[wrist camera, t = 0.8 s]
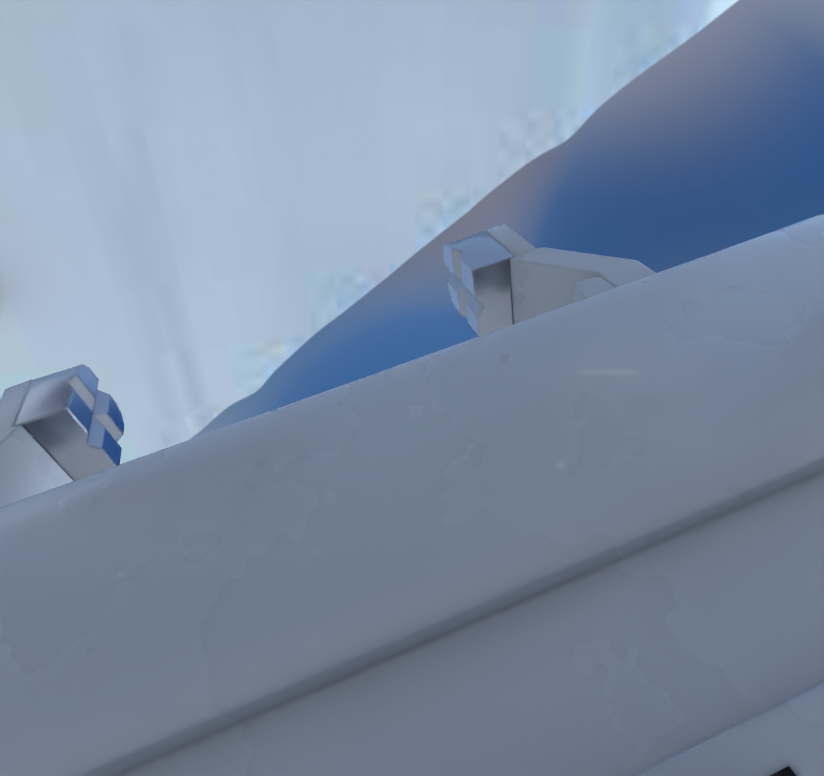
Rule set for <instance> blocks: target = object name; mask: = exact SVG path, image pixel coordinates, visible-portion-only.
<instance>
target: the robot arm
mask: <svg viewBox="0 0 824 776" xmlns="http://www.w3.org/2000/svg"><path fill="white" fill-rule="evenodd" d="M443 255H444V261H445V264H446V266H447V267H448V268H449V269H450V270H451V274H450V276H449V278H448V280H447V281H448V287H449V292H450V295H451V298H452V301H453V304H454V306H455V308H456V310H457V311H458V313H459V314H460V315H461V316H462V317H466V318H468V325H469V327H470V328H471V329H472V331H473V332H474V333H475V334H476V335H477V338H474V339H471V340H468V341H465V342H463V343H460V344H457V345H454V346H452V347H449V348H446V349H443V350H440V351H437V352H435V353H432V354H429V355H426V356H423V357H421V358H418V359H415V360H412V361H409V362H407V363H404V364H401V365H398V366H396V367H393V368H390V369H387V370H385V371H382V372H379V373H376V374H373V375H370V376H368V377H365V378H362V379H360V380H357V381H354V382H351V383H348V384H345V385H342V386H339V387H337V388H334V389H332V390H328V391H325V392H323V393H320V394H317V395H314V396H311V397H309V398H306V399H303V400H300V401H297V402H294V403H292V404H289V405H286V406H283V407H280V408H278V409H275V410H272V411H269V412H267V413H264V414H261V415H258V416H255V417H253V418H250V419H247V420H244V421H241V422H238V423H235V424H233V425H230V426H227V427H224V428H221V429H219V430H216V431H213V432H210V433H207V434H205V435H202V436H199V437H196V438H193V439H191V440H188V441H185V442H182V443H179V444H176V445H174V446H171V447H168V448H165V449H162V450H160V451H157V452H154V453H151V454H148V455H146V456H143V457H140V458H137V459H134V460H131V461H129V462H126V463H123V464H120V456H121V449H122V448H121V447H120V446H119V444H118V443H117V441H118V440H119V439H120V438H121V436H122V435H123V432H124V423H123V419H122V414H121V412H120V410H119V408H118V406H117V404H116V402H115V401H114V400H113V398H112V397H111V396H110V395H109V394H107V393H104V392H102V391H99V390H97V386H98V380H99V379H98V378H97V377H96V376H95V374H94V373H93V372H92V371H91V369H90V368H89V367H87V366H85V365H83V364H82V365H79V366H76V367H72V368H69V369H66V370H63V371H60V372H56V373H53V374H50V375H47V376H44V377H40V378H37V379H35V380H29V381H26V382H24V383H21V384H18V385H15V386H13V387H10V388H8V389H5V391H4V394H3V396H2V398H1V401H0V776H824V214H822V215H818V216H815V217H812V218H809V219H806V220H803V221H801V222H798V223H795V224H793V225H790V226H787V227H785V228H782V229H779V230H776V231H774V232H771V233H768V234H765V235H762V236H760V237H757V238H754V239H752V240H749V241H746V242H743V243H740V244H738V245H734V246H732V247H729V248H726V249H724V250H720V251H718V252H715V253H712V254H709V255H706V256H703V257H701V258H698V259H695V260H692V261H690V262H687V263H684V264H681V265H679V266H675V267H673V268H670V269H667V270H664V271H662V272H659V273H655V272H654V271H652V270H651V269H649V268H648V267H646V266H645V265H643V264H641V263H640V262H639V261H637V260H630V259H622V258H616V257H609V256H601V255H594V254H587V253H580V252H573V251H565V250H558V249H551V248H544V247H543V248H540V249H536V248H535V247H533V246H532V245H531V244H530V243H528V242H527V241H526V240H525V239H523V238H522V237H520V235H518V234H517V233H516V232H515V231H513V230H512V229H511V228H510V227H508V226H507V225H499V226H497V227H494V228H492V229H489V230H486V231H482V232H479V233H477V234H474V235H471V236H468V237H466V238H463V239H460V240H457V241H454V242H451V243H449V244H446V245H445V246H444V247H443ZM119 464H120V465H119Z"/></svg>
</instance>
